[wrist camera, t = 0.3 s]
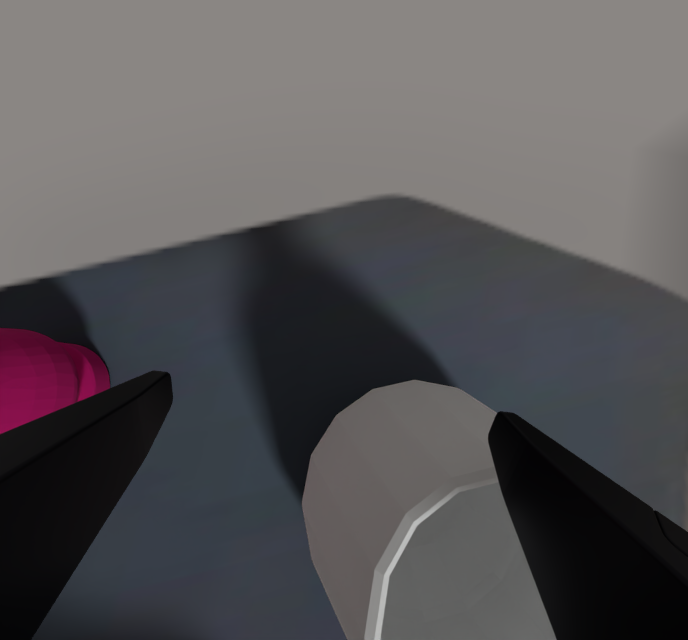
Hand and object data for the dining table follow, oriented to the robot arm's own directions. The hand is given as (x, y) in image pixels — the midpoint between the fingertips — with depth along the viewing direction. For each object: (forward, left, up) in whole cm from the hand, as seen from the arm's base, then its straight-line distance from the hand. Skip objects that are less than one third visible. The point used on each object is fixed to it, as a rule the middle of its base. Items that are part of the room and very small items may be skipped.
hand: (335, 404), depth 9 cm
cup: (-8, -3, -15) cm, 17 cm away
